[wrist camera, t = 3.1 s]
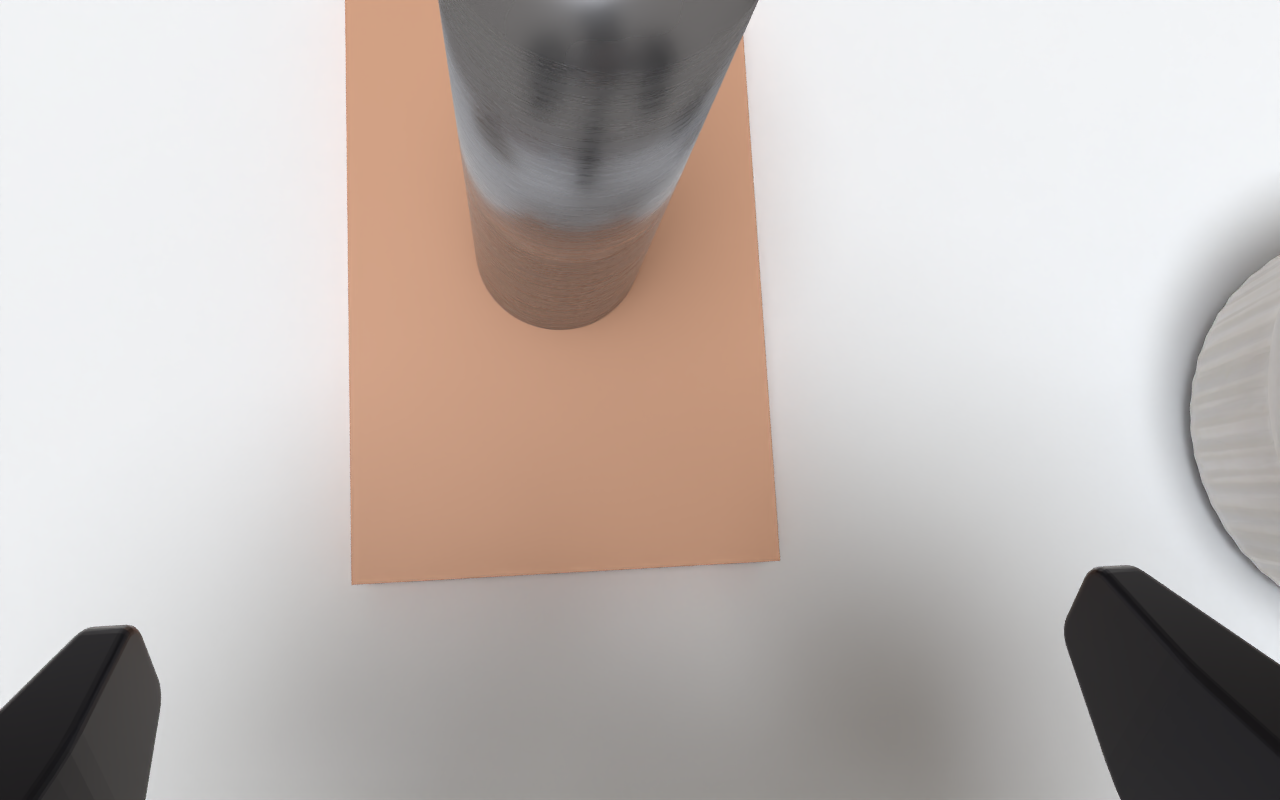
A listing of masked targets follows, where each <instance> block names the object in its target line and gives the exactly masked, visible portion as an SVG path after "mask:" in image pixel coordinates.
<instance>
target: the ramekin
mask: <svg viewBox="0 0 1280 800" xmlns="http://www.w3.org/2000/svg"><path fill="white" fill-rule="evenodd" d="M1190 416H1191V425H1190V431H1191V437H1192V442H1193V449H1194V457H1195V460H1196V463H1197V466H1198V469H1199V473H1200V477H1201V481H1202V484H1203V486H1204V488H1205V490H1206V492H1207V494H1208V497H1209V499H1210V502H1211V505H1212V507H1213V508H1214V510H1215V511H1216V513H1217V514H1218V516H1219V518H1220V520H1221V522H1222V524H1223V526H1224V528H1225V530H1226V531H1227V532H1228V533H1229V535H1230V536H1231V537H1232V538H1233V540H1234V541H1235V543H1236V544H1237V546H1238V547H1239V549H1240V551H1241V552H1242V553H1243V554H1244V555H1245V556H1247V557H1248V558H1249V559H1251V560H1252V561H1253V563H1254V564H1255V565H1256V567H1257V568H1258V569H1259V570H1260V571H1261V572H1262V573H1263V574H1265V575H1266V576H1268V577H1269V578H1270V579H1271V580H1273V581H1274V582H1275V583H1276V584H1277V585H1278V586H1279V587H1280V255H1278V256H1277V257H1275V258H1273V259H1272V260H1271V261H1269V262H1268V263H1267V264H1266V265H1264V266H1263V267H1262V268H1261V269H1260V270H1258V271H1257V272H1255V273H1254V274H1252V275H1251V276H1250V277H1249V278H1248V279H1247V280H1246V281H1245V282H1244V283H1243V284H1242V286H1241V287H1240V288H1239V289H1238V290H1237V291H1236V292H1234V293H1233V294H1232V295H1231V296H1230V298H1229V299H1228V301H1227V302H1226V304H1225V306H1224V308H1223V309H1222V310H1221V311H1220V312H1219V313H1218V315H1217V316H1216V318H1215V321H1214V323H1213V325H1212V327H1211V329H1210V330H1209V332H1208V334H1207V336H1206V338H1205V341H1204V345H1203V348H1202V350H1201V352H1200V354H1199V356H1198V360H1197V367H1196V372H1195V375H1194V378H1193V381H1192V397H1191V402H1190Z"/></svg>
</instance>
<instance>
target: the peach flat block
mask: <svg viewBox="0 0 1280 800" xmlns="http://www.w3.org/2000/svg"><path fill="white" fill-rule="evenodd" d="M345 34H346V124H347V215H348V305H349V396H350V486H351V576H352V585H355V584H373V583H391V582H409V581H427V580H444V579H462V578H480V577H498V576H516V575H534V574H551V573H569V572H587V571H605V570H623V569H640V568H658V567H676V566H694V565H712V564H729V563H747V562H765V561H780V553H779V539H778V525H777V511H776V496H775V482H774V468H773V454H772V439H771V425H770V411H769V397H768V383H767V368H766V354H765V340H764V326H763V311H762V297H761V283H760V269H759V255H758V240H757V226H756V212H755V198H754V183H753V169H752V155H751V141H750V127H749V112H748V98H747V84H746V70H745V55H744V41H743V36H742V38H741V41H740V43H739V45H738V48H737V50H736V52H735V54H734V57H733V59H732V61H731V63H730V66H729V68H728V70H727V72H726V75H725V77H724V79H723V81H722V84H721V86H720V88H719V90H718V93H717V95H716V97H715V99H714V102H713V104H712V106H711V108H710V111H709V113H708V115H707V118H706V120H705V122H704V124H703V127H702V129H701V131H700V133H699V136H698V138H697V140H696V142H695V145H694V147H693V149H692V151H691V154H690V156H689V158H688V160H687V163H686V165H685V167H684V169H683V172H682V174H681V176H680V178H679V181H678V183H677V185H676V188H675V190H674V192H673V194H672V197H671V199H670V201H669V203H668V206H667V208H666V210H665V212H664V215H663V217H662V219H661V221H660V224H659V226H658V228H657V230H656V233H655V235H654V237H653V239H652V242H651V244H650V246H649V248H648V251H647V253H646V255H645V258H644V260H643V262H642V264H641V267H640V269H639V271H638V273H637V276H636V278H635V280H634V282H633V285H632V287H631V289H630V290H629V292H628V294H627V295H626V297H625V298H624V299H623V301H622V302H621V303H620V304H619V305H618V306H617V307H616V308H615V309H614V310H613V311H612V312H611V313H609V314H608V315H606V316H605V317H604V318H602V319H600V320H598V321H596V322H594V323H592V324H589V325H587V326H584V327H580V328H576V329H569V330H550V329H544V328H539V327H535V326H532V325H529V324H527V323H525V322H522V321H520V320H518V319H517V318H515V317H514V316H512V315H510V314H509V313H508V312H507V311H505V310H504V309H503V308H502V307H501V306H500V305H499V304H498V303H497V302H496V301H495V300H494V299H493V297H492V296H491V295H490V293H489V292H488V290H487V288H486V287H485V285H484V283H483V281H482V278H481V276H480V273H479V270H478V266H477V261H476V254H475V247H474V241H473V234H472V227H471V220H470V213H469V207H468V200H467V193H466V186H465V179H464V173H463V166H462V159H461V152H460V145H459V139H458V132H457V125H456V118H455V111H454V105H453V98H452V91H451V84H450V77H449V71H448V64H447V57H446V50H445V43H444V37H443V30H442V23H441V16H440V9H439V3H438V0H345Z"/></svg>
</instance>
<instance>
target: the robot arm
mask: <svg viewBox="0 0 1280 800" xmlns="http://www.w3.org/2000/svg"><path fill="white" fill-rule="evenodd" d="M1064 637H1065V642H1066V646H1067V649H1068V652H1069V655H1070V658H1071V661H1072V664H1073V667H1074V670H1075V673H1076V676H1077V679H1078V682H1079V685H1080V688H1081V691H1082V693H1083V696H1084V699H1085V702H1086V705H1087V708H1088V711H1089V714H1090V717H1091V720H1092V723H1093V726H1094V729H1095V732H1096V735H1097V737H1098V740H1099V743H1100V746H1101V749H1102V752H1103V755H1104V758H1105V761H1106V764H1107V766H1108V769H1109V772H1110V774H1111V777H1112V780H1113V782H1114V785H1115V787H1116V790H1117V792H1118V794H1119V797H1120V799H1121V800H1280V664H1278V663H1277V662H1275V661H1274V660H1272V659H1271V658H1270V657H1268V656H1267V655H1265V654H1264V653H1262V652H1261V651H1259V650H1258V649H1256V648H1255V647H1253V646H1252V645H1251V644H1249V643H1248V642H1246V641H1245V640H1243V639H1242V638H1240V637H1239V636H1237V635H1236V634H1234V633H1233V632H1232V631H1230V630H1229V629H1227V628H1226V627H1224V626H1223V625H1221V624H1220V623H1218V622H1217V621H1215V620H1214V619H1213V618H1211V617H1210V616H1208V615H1207V614H1205V613H1204V612H1202V611H1201V610H1199V609H1198V608H1196V607H1195V606H1193V605H1192V604H1191V603H1189V602H1188V601H1186V600H1185V599H1183V598H1182V597H1180V596H1179V595H1177V594H1176V593H1174V592H1173V591H1172V590H1170V589H1169V588H1167V587H1166V586H1164V585H1163V584H1161V583H1160V582H1158V581H1157V580H1155V579H1154V578H1153V577H1151V576H1150V575H1148V574H1147V573H1145V572H1144V571H1142V570H1140V569H1139V568H1136V567H1134V566H1129V565H1120V566H1103V567H1096V568H1093V569H1092V570H1091V571H1089V572H1088V573H1087V575H1086V577H1085V578H1084V581H1083V583H1082V585H1081V587H1080V589H1079V591H1078V594H1077V596H1076V598H1075V600H1074V602H1073V604H1072V607H1071V609H1070V611H1069V613H1068V615H1067V618H1066V620H1065V626H1064ZM160 706H161V689H160V683H159V680H158V677H157V674H156V672H155V669H154V667H153V664H152V661H151V659H150V656H149V654H148V651H147V648H146V646H145V643H144V641H143V638H142V636H141V634H140V632H139V630H137V629H136V628H135V627H134V626H131V625H116V626H99V627H90V628H87V629H85V630H83V631H81V632H80V633H78V634H77V635H76V636H75V637H74V638H73V639H72V640H71V641H70V642H69V643H68V644H67V645H66V646H65V647H64V648H63V649H62V650H61V651H60V652H59V653H58V654H57V655H55V656H54V657H53V658H52V659H51V660H50V661H49V662H48V663H47V664H46V665H45V666H44V667H43V668H42V669H41V670H40V671H39V672H38V673H37V674H36V675H35V676H34V677H33V678H32V679H31V680H30V681H29V682H28V683H27V684H26V685H25V686H24V687H23V688H22V689H21V690H20V691H19V692H18V693H17V694H16V695H15V696H14V697H13V698H12V699H11V700H10V701H9V702H8V703H7V704H6V705H5V706H4V707H3V708H2V709H1V710H0V800H145V799H146V793H147V787H148V780H149V774H150V768H151V762H152V756H153V750H154V744H155V738H156V732H157V726H158V719H159V713H160Z"/></svg>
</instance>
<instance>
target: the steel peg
mask: <svg viewBox="0 0 1280 800" xmlns="http://www.w3.org/2000/svg"><path fill="white" fill-rule="evenodd" d="M757 2H758V0H438V3H439V9H440V16H441V23H442V30H443V37H444V43H445V50H446V57H447V64H448V71H449V77H450V84H451V91H452V98H453V105H454V111H455V118H456V125H457V132H458V139H459V145H460V152H461V159H462V166H463V173H464V179H465V186H466V193H467V200H468V207H469V213H470V220H471V227H472V234H473V241H474V247H475V254H476V261H477V266H478V270H479V273H480V276H481V278H482V281H483V283H484V285H485V287H486V288H487V290H488V292H489V293H490V295H491V296H492V297H493V299H494V300H495V301H496V302H497V303H498V304H499V305H500V306H501V307H502V308H503V309H504V310H505V311H507V312H508V313H509V314H510V315H512V316H514V317H515V318H517V319H518V320H520V321H522V322H525V323H527V324H529V325H532V326H535V327H539V328H544V329H550V330H569V329H576V328H580V327H584V326H587V325H589V324H592V323H594V322H596V321H598V320H600V319H602V318H604V317H605V316H606V315H608V314H609V313H611V312H612V311H613V310H614V309H615V308H616V307H617V306H618V305H619V304H620V303H621V302H622V301H623V299H624V298H625V297H626V295H627V294H628V292H629V290H630V289H631V287H632V285H633V282H634V280H635V278H636V276H637V273H638V271H639V269H640V267H641V264H642V262H643V260H644V258H645V255H646V253H647V251H648V248H649V246H650V244H651V242H652V239H653V237H654V235H655V233H656V230H657V228H658V226H659V224H660V221H661V219H662V217H663V215H664V212H665V210H666V208H667V206H668V203H669V201H670V199H671V197H672V194H673V192H674V190H675V188H676V185H677V183H678V181H679V178H680V176H681V174H682V172H683V169H684V167H685V165H686V163H687V160H688V158H689V156H690V154H691V151H692V149H693V147H694V145H695V142H696V140H697V138H698V136H699V133H700V131H701V129H702V127H703V124H704V122H705V120H706V118H707V115H708V113H709V111H710V108H711V106H712V104H713V102H714V99H715V97H716V95H717V93H718V90H719V88H720V86H721V84H722V81H723V79H724V77H725V75H726V72H727V70H728V68H729V66H730V63H731V61H732V59H733V57H734V54H735V52H736V50H737V48H738V45H739V43H740V41H741V38H742V36H743V34H744V32H745V29H746V27H747V25H748V23H749V20H750V18H751V16H752V14H753V11H754V9H755V7H756V5H757Z"/></svg>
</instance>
